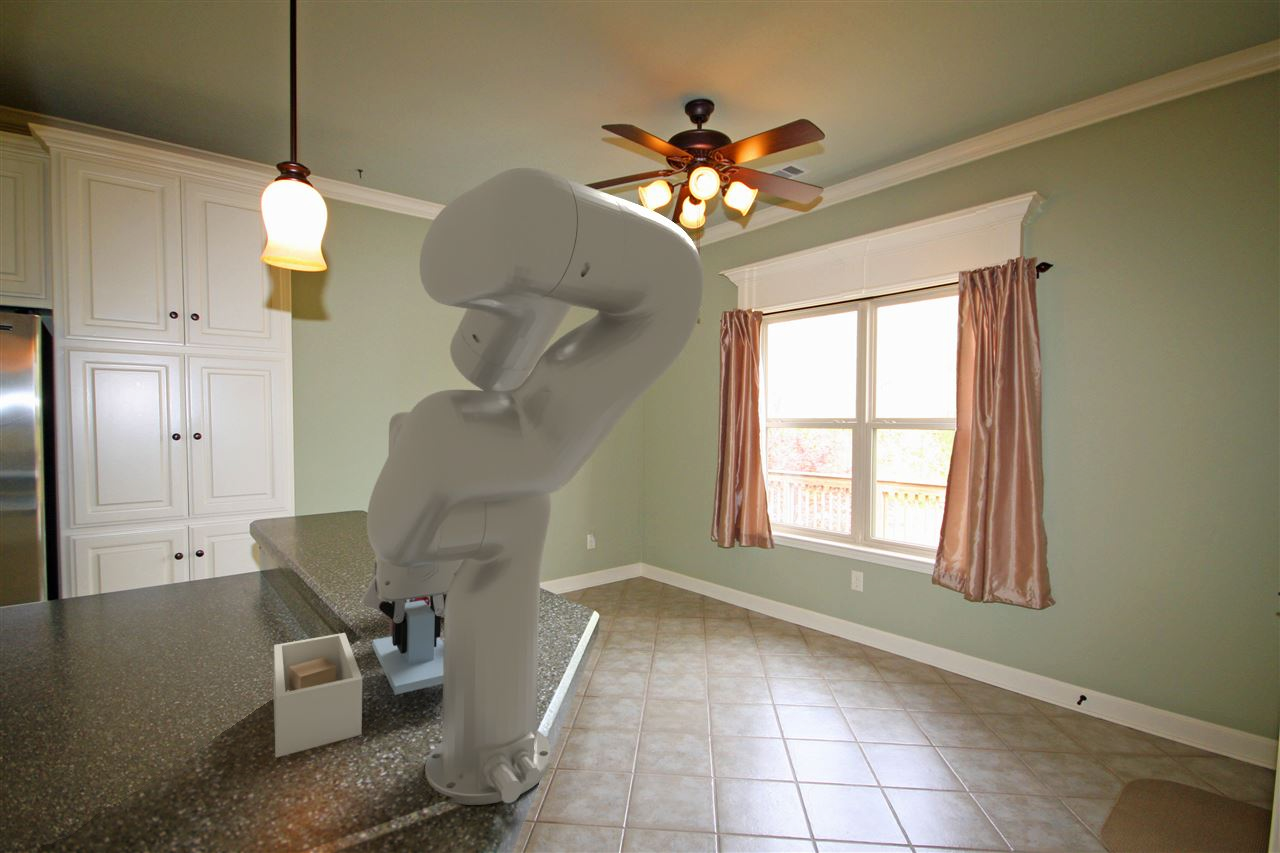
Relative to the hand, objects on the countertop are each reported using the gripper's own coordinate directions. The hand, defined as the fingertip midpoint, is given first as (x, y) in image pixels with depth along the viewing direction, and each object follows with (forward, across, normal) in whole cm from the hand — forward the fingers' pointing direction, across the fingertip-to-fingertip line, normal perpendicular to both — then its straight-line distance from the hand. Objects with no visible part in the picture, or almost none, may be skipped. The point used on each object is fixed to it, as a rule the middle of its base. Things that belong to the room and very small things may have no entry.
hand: (416, 645), depth 73 cm
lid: (+3, 0, 0) cm, 3 cm away
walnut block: (+6, -12, +4) cm, 13 cm away
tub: (+6, -12, 0) cm, 13 cm away
